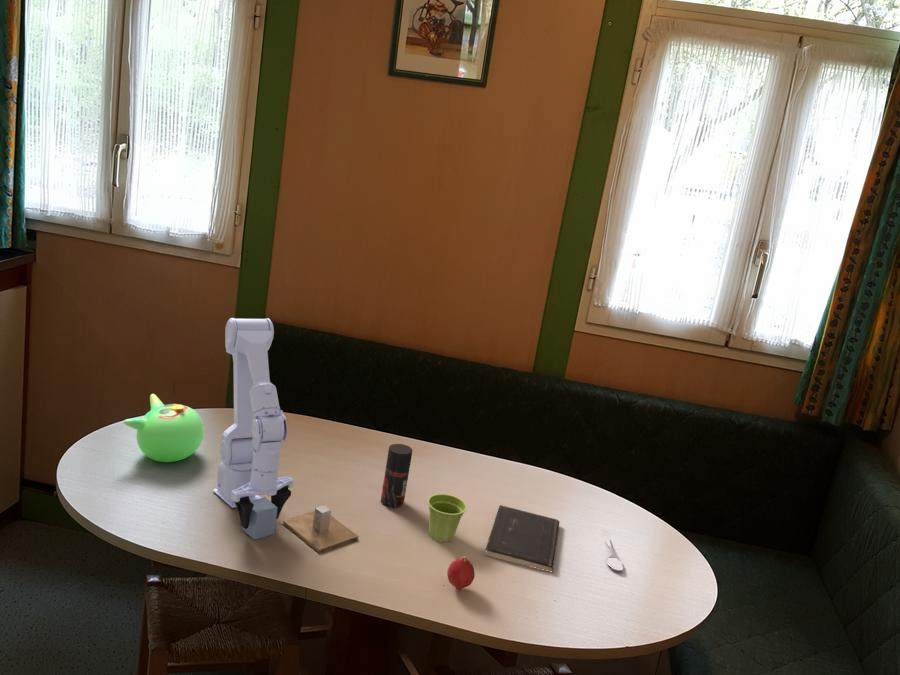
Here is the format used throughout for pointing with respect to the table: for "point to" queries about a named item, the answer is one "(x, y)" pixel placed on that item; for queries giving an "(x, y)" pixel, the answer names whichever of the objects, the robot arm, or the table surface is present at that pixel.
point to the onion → (461, 573)
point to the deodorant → (396, 475)
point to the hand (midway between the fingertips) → (259, 522)
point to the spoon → (613, 556)
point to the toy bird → (168, 431)
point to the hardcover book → (523, 538)
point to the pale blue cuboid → (262, 519)
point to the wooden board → (320, 529)
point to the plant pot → (444, 516)
